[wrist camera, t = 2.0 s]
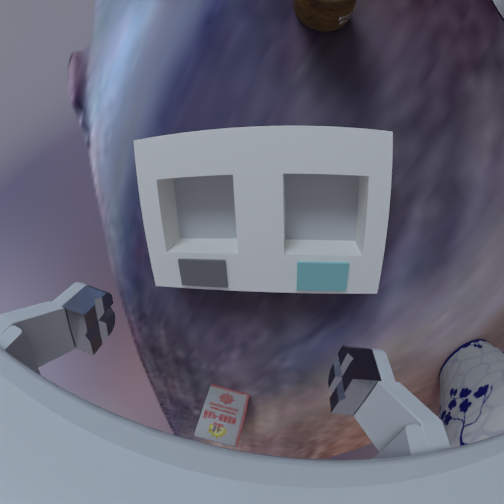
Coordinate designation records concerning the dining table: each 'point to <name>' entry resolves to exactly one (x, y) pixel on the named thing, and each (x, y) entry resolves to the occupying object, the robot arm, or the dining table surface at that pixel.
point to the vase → (472, 393)
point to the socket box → (267, 208)
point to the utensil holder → (324, 13)
